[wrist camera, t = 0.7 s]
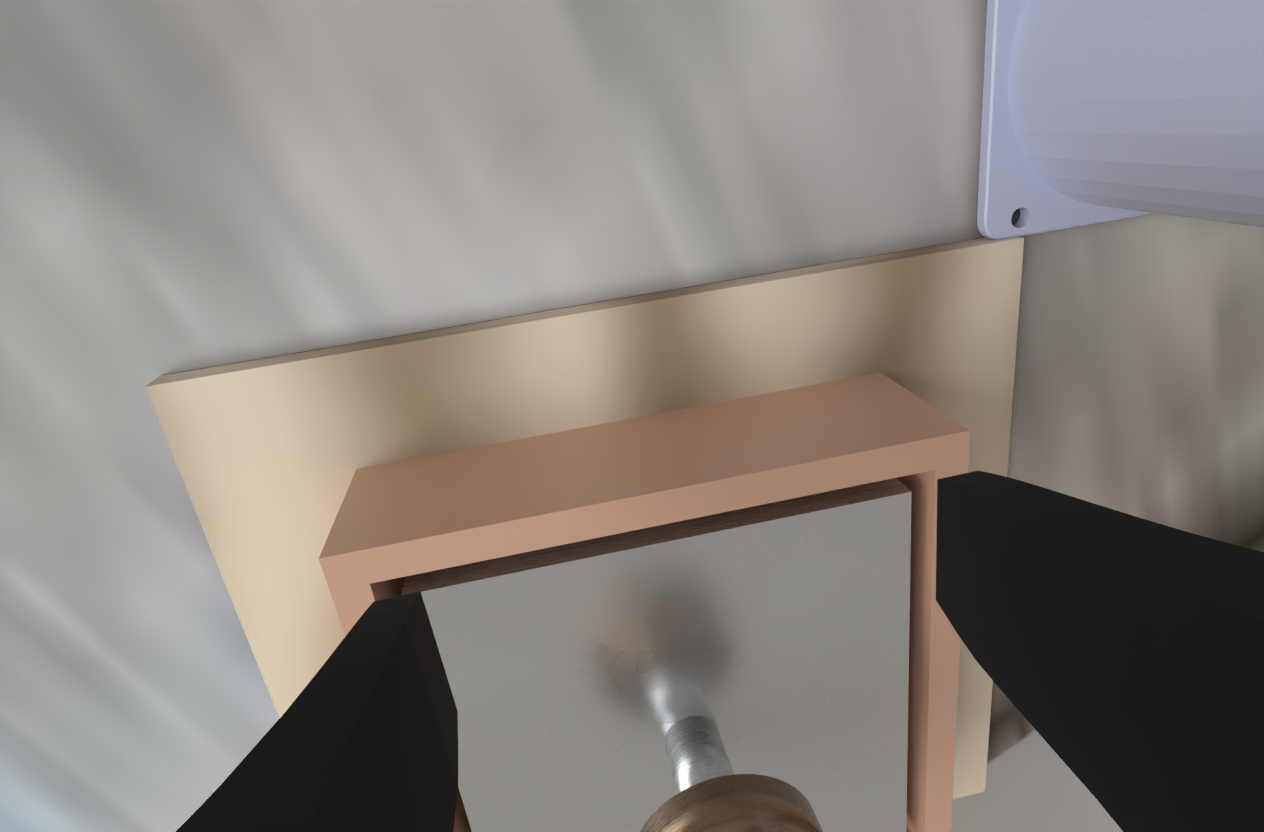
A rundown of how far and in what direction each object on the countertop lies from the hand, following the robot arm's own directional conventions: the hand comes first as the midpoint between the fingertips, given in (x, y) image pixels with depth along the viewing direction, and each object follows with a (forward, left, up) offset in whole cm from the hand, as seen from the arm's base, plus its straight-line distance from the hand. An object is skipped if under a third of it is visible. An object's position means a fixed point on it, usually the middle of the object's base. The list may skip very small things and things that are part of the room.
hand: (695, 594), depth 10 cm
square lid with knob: (0, +8, -6) cm, 10 cm away
